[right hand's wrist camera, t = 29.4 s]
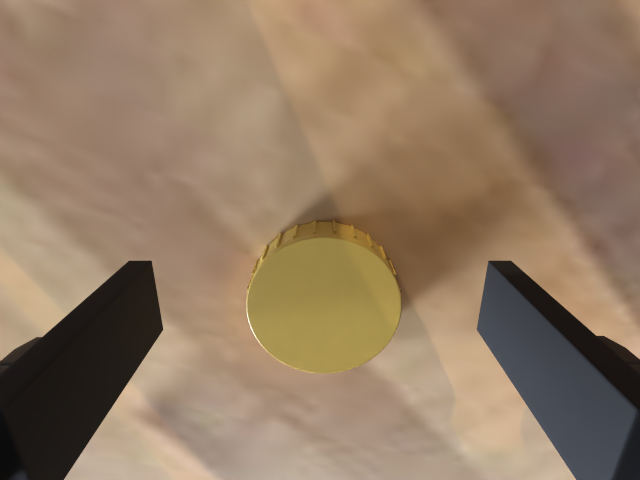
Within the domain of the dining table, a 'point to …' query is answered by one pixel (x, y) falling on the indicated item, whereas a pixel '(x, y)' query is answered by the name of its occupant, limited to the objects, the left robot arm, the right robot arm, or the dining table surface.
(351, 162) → the dining table surface
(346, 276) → the lid
